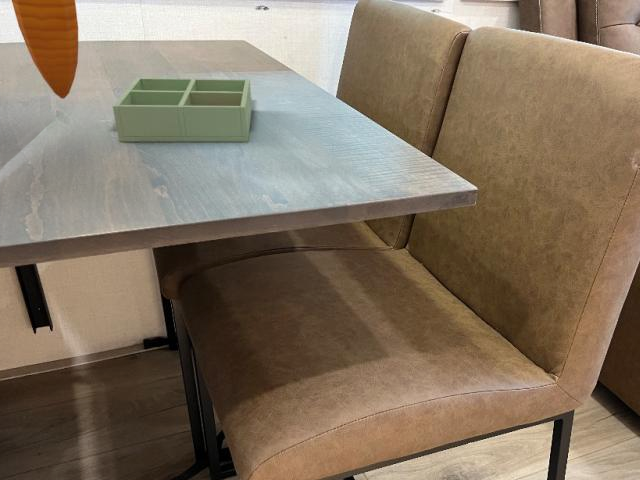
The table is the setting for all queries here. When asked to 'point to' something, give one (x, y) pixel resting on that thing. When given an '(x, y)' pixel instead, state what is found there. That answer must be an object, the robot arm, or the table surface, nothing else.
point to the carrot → (51, 39)
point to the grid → (184, 110)
